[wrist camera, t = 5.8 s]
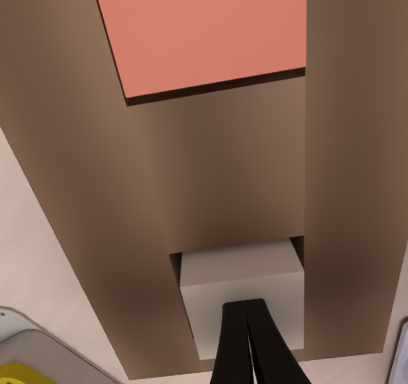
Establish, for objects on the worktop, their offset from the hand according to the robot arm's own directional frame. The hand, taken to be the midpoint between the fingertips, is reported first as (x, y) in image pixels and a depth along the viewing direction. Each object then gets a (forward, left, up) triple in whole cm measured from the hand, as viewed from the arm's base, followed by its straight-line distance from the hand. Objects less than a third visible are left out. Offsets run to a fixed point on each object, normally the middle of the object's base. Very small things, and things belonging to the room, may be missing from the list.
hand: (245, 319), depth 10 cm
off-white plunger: (0, 0, -3) cm, 3 cm away
